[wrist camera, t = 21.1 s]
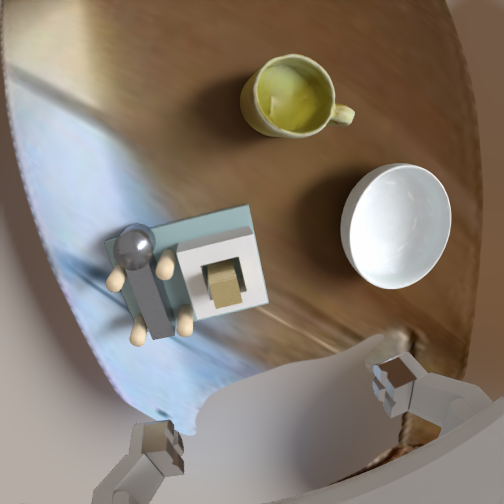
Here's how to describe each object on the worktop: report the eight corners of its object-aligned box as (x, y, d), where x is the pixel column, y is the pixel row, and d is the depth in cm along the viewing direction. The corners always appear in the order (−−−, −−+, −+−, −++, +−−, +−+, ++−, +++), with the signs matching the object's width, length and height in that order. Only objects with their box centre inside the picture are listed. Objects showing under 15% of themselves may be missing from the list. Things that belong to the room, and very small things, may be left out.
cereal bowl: (307, 248, 43) (325, 268, 37) (356, 138, 39) (384, 139, 33) (394, 283, 48) (418, 303, 41) (437, 191, 44) (467, 200, 37)
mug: (211, 127, 34) (250, 100, 26) (243, 62, 35) (285, 27, 26) (295, 172, 40) (348, 164, 31) (317, 109, 41) (368, 91, 32)
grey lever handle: (116, 228, 37) (107, 238, 34) (150, 219, 38) (144, 227, 34) (150, 325, 42) (147, 341, 39) (181, 318, 43) (180, 334, 39)
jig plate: (106, 240, 39) (92, 255, 33) (247, 203, 40) (255, 213, 34) (140, 329, 44) (133, 354, 38) (267, 299, 45) (276, 321, 39)
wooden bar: (207, 258, 40) (208, 284, 33) (229, 252, 41) (236, 277, 33) (212, 279, 42) (215, 309, 34) (235, 273, 42) (242, 302, 34)
